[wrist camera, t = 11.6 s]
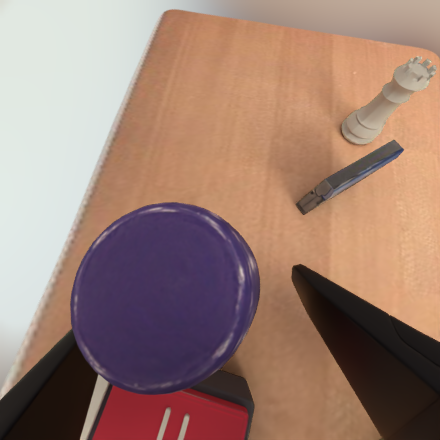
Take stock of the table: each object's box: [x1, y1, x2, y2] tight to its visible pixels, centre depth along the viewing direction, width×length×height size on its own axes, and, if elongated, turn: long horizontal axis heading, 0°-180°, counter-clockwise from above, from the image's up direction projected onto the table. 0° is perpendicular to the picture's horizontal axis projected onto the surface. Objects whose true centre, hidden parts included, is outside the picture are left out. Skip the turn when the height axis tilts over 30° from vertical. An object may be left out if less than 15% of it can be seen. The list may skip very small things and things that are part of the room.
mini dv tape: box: [296, 140, 404, 215], centre depth 18 cm, size 8×2×6 cm, turn 120°
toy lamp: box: [70, 202, 260, 395], centre depth 11 cm, size 5×5×17 cm
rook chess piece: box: [342, 56, 437, 144], centre depth 20 cm, size 4×4×8 cm
